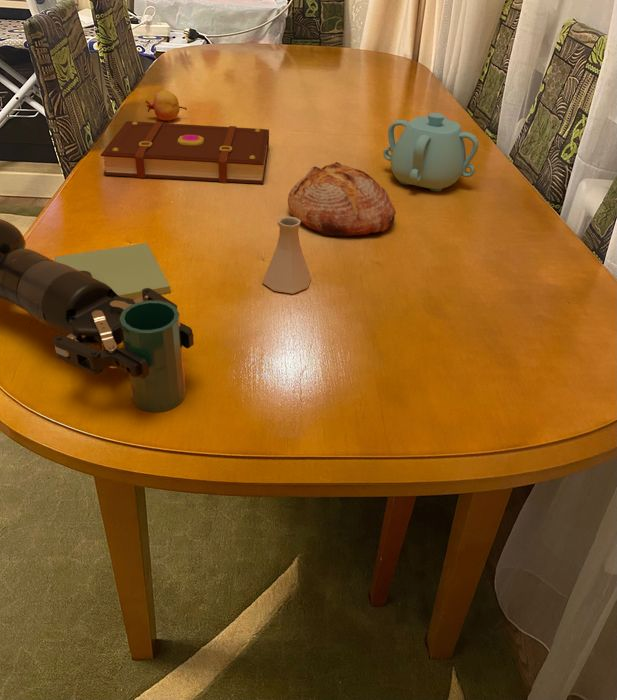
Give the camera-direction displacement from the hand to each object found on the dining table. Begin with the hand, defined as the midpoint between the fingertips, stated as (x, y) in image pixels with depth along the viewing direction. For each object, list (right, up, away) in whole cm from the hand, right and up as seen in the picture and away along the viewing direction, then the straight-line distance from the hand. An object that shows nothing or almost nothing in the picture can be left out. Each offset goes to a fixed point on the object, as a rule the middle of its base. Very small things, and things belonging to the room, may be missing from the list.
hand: (168, 354), depth 65 cm
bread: (+21, +24, +46) cm, 56 cm away
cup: (-2, -5, +5) cm, 7 cm away
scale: (-14, +11, +25) cm, 31 cm away
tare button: (-16, +9, +19) cm, 27 cm away
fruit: (-20, +57, +85) cm, 105 cm away
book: (-10, +41, +64) cm, 77 cm away
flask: (+12, +11, +27) cm, 31 cm away
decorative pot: (+39, +36, +63) cm, 83 cm away
